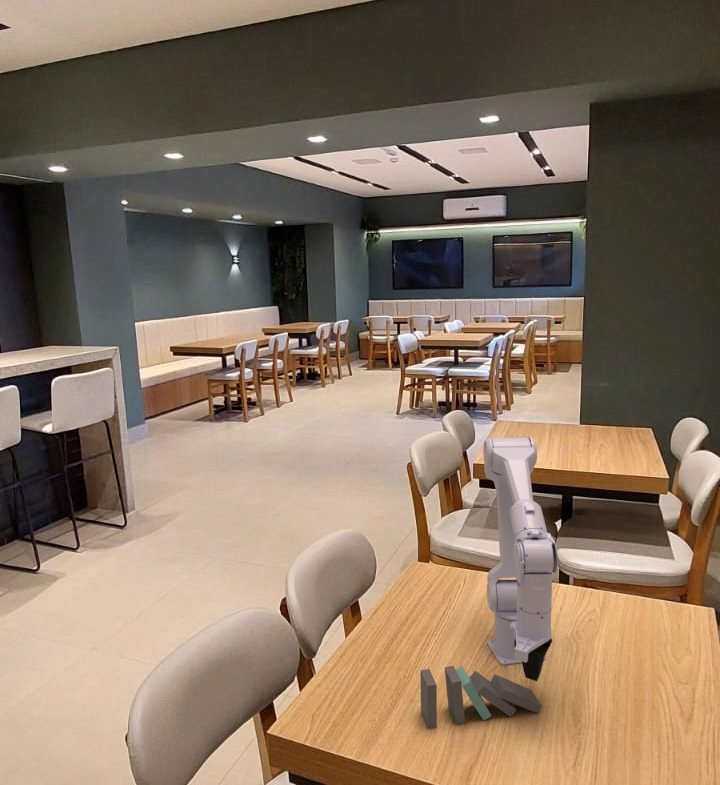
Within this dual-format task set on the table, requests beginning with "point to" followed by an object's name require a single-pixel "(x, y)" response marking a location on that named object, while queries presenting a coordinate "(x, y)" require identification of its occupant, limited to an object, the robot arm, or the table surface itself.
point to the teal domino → (473, 694)
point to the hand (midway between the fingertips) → (532, 677)
